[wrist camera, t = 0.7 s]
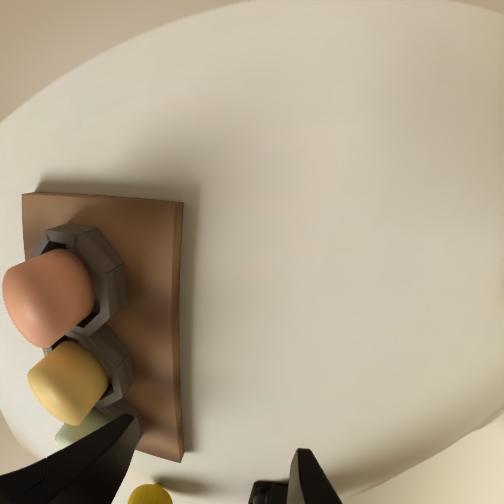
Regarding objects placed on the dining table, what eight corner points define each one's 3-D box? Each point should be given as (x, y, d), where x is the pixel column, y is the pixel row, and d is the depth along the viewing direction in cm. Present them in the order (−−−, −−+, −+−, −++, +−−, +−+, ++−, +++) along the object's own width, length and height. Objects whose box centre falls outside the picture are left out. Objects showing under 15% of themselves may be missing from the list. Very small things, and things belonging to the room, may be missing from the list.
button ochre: (113, 401, 19) (89, 434, 15) (65, 382, 19) (39, 409, 15) (102, 351, 18) (71, 384, 14) (51, 333, 18) (19, 358, 14)
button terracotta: (98, 327, 17) (64, 358, 13) (47, 310, 17) (12, 334, 14) (91, 254, 16) (48, 275, 12) (38, 243, 16) (-3, 260, 12)
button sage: (126, 450, 21) (110, 480, 17) (83, 432, 21) (65, 458, 17) (117, 417, 19) (96, 450, 16) (70, 398, 20) (47, 425, 16)
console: (184, 452, 25) (174, 479, 21) (73, 413, 26) (58, 433, 22) (183, 202, 18) (159, 210, 14) (33, 192, 19) (1, 198, 16)
